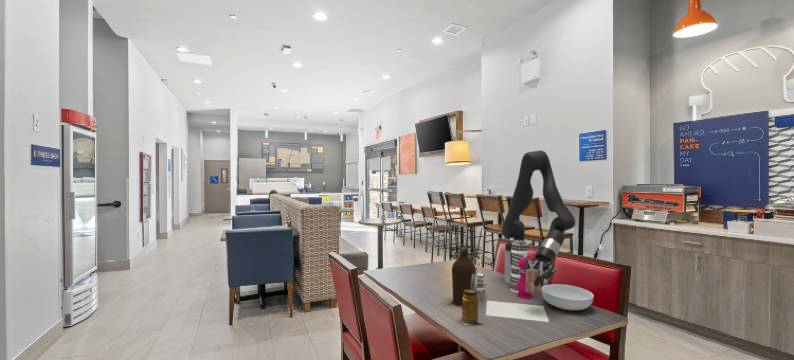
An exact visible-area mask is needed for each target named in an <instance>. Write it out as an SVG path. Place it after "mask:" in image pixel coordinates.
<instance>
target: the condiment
mask: <svg viewBox="0 0 794 360" xmlns="http://www.w3.org/2000/svg"><path fill="white" fill-rule="evenodd" d="M463 293H464V295H463V296H464V297H463V298H462V306H461V309H462V311H461V312H462V313H461V315H462V316H461V317H462V319H460V321H461V323H462V324H463V325H464V326H476V325H478V326H479V325H480V326H481V325H483V323H481V322H479V321H478V320H479V318H478V317H479V315H478V314H479V298H478V292H477V291H476V289H475V290H471V289H467V290H464V292H463Z"/></svg>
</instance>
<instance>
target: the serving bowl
mask: <svg viewBox="0 0 794 360" xmlns="http://www.w3.org/2000/svg"><path fill="white" fill-rule="evenodd" d="M541 296H542V297H543V299H544V300H545V301H546V302H547V303H548V304H550V306H553V307H555V308H558V309H561V310H565V311H580V310H586V309H587V308H589V307H590V306H591V305H592V304H593V301H594V298H595V295H594V294H593V293H592V292H591V291H589V290H587V289H585V288H582V287H579V286H575V285H569V284H557V283H552V284H546V285H542V286H541Z"/></svg>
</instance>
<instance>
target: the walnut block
mask: <svg viewBox="0 0 794 360" xmlns="http://www.w3.org/2000/svg"><path fill="white" fill-rule="evenodd" d="M539 272H540V271H539V270H537V269H528V270H526V292H529V293H531V294H533V295H536V294H539V293H542V291H541V288H542V282H541V283H540V285H539V286H535V285H534V282H535V280H536V278H537V276H538V275H539Z"/></svg>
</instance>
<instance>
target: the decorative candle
mask: <svg viewBox="0 0 794 360" xmlns="http://www.w3.org/2000/svg"><path fill="white" fill-rule="evenodd" d="M513 240H514V239H513ZM513 240H512V241H513ZM511 244H512V249H511V251H510V253H511V254H510V256H511V258H510V260H511V261H510V263H511V265H510V266H511V276H510V278H511V279H510V281H511V282H510V284H509V285H510V286H509V288H510V289H509V290H510V291H511V292H513V293H516V294H518V292H519V291H518V290H517V284H518V282H519V280H520V275H521V274H520V271H519V270H520V267H519V265H518V262H519V260H520V259H522V258H523V256H524V255H526V256H527V259H529V258H530V256H529V255H528V253H529V251H528V246H529V243H527V242H526V240H524V241H523V240H514V241H513V243H511Z"/></svg>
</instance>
